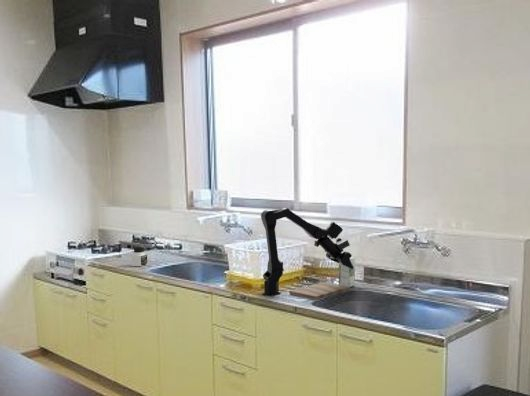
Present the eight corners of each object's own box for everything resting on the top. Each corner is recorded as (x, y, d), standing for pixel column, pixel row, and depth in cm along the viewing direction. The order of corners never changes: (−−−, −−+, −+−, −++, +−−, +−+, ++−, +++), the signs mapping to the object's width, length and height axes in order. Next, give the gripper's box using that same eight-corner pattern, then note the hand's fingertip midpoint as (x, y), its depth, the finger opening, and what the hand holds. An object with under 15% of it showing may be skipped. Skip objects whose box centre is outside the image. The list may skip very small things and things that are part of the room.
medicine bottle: (141, 267, 325) (140, 247, 324) (131, 266, 327) (130, 247, 326) (147, 264, 331) (146, 245, 331) (137, 264, 334) (137, 245, 333)
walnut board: (315, 299, 239) (315, 296, 238) (289, 294, 250) (289, 291, 250) (348, 290, 255) (348, 287, 255) (322, 285, 267) (322, 282, 267)
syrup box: (344, 284, 267) (344, 255, 266) (355, 285, 263) (354, 256, 262) (338, 286, 263) (338, 257, 262) (349, 288, 259) (349, 258, 258)
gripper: (347, 236, 251) (368, 257, 255) (331, 231, 269) (351, 251, 273) (332, 253, 249) (353, 275, 253) (317, 247, 267) (337, 268, 271)
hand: (349, 266), depth 263 cm, fingers closed on syrup box, 7 cm apart
